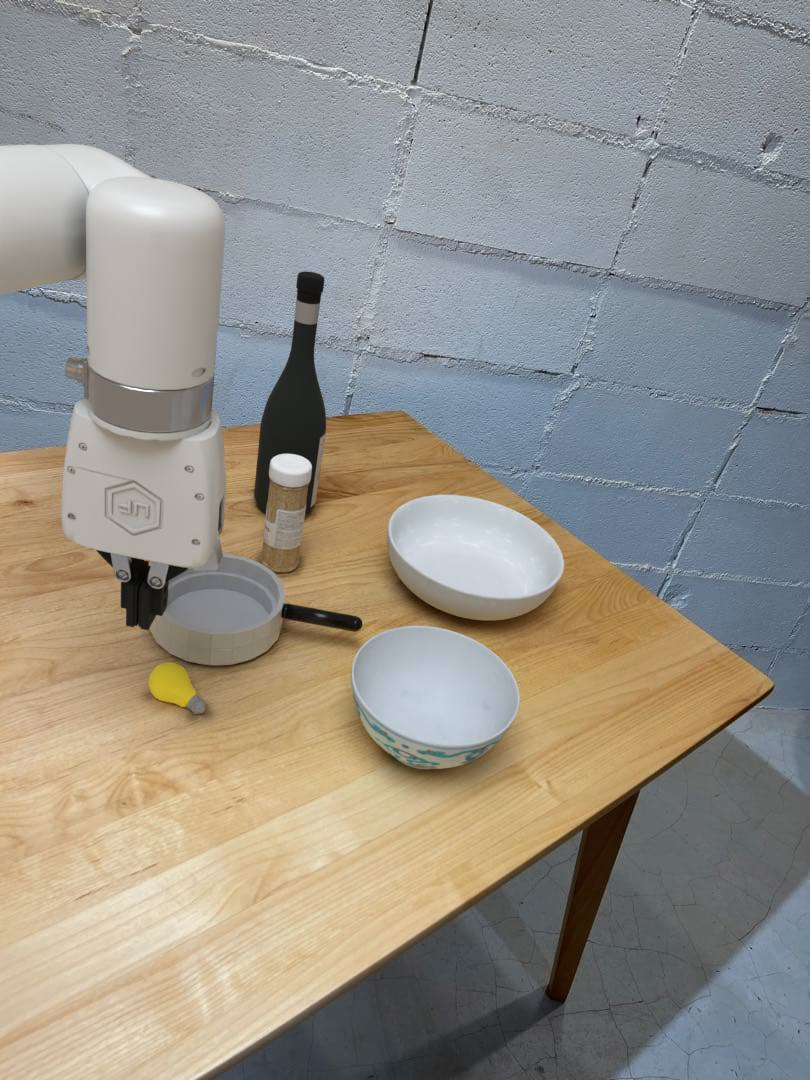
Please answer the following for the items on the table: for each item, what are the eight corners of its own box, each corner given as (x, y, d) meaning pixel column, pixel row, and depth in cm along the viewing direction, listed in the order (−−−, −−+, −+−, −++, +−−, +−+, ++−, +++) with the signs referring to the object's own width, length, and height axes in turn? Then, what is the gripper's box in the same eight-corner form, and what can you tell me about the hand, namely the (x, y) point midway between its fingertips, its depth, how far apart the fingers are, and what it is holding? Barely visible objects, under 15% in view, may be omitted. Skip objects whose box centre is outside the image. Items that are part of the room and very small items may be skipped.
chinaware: (305, 731, 74) (315, 668, 70) (412, 664, 84) (427, 606, 80) (428, 839, 67) (448, 775, 63) (529, 751, 77) (552, 691, 73)
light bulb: (156, 677, 76) (173, 649, 75) (204, 718, 75) (222, 690, 74) (134, 690, 73) (151, 661, 72) (184, 732, 72) (202, 703, 71)
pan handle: (276, 620, 82) (278, 608, 81) (279, 611, 83) (281, 598, 83) (360, 636, 82) (362, 624, 82) (362, 626, 84) (364, 614, 83)
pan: (130, 655, 78) (130, 618, 76) (172, 577, 89) (173, 543, 87) (265, 679, 79) (270, 644, 76) (291, 599, 90) (295, 566, 87)
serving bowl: (397, 645, 86) (408, 593, 83) (365, 536, 103) (373, 489, 100) (575, 645, 92) (593, 597, 88) (517, 542, 109) (530, 498, 105)
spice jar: (259, 551, 96) (269, 450, 89) (298, 553, 98) (311, 453, 90) (260, 573, 93) (270, 470, 86) (300, 575, 94) (314, 473, 87)
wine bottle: (299, 486, 111) (327, 264, 95) (325, 517, 106) (359, 286, 90) (243, 493, 107) (263, 262, 91) (267, 525, 101) (293, 285, 85)
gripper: (3, 390, 48) (21, 628, 58) (254, 443, 49) (229, 670, 58) (58, 347, 54) (65, 568, 64) (280, 395, 55) (253, 606, 65)
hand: (143, 616), depth 61 cm, fingers closed
